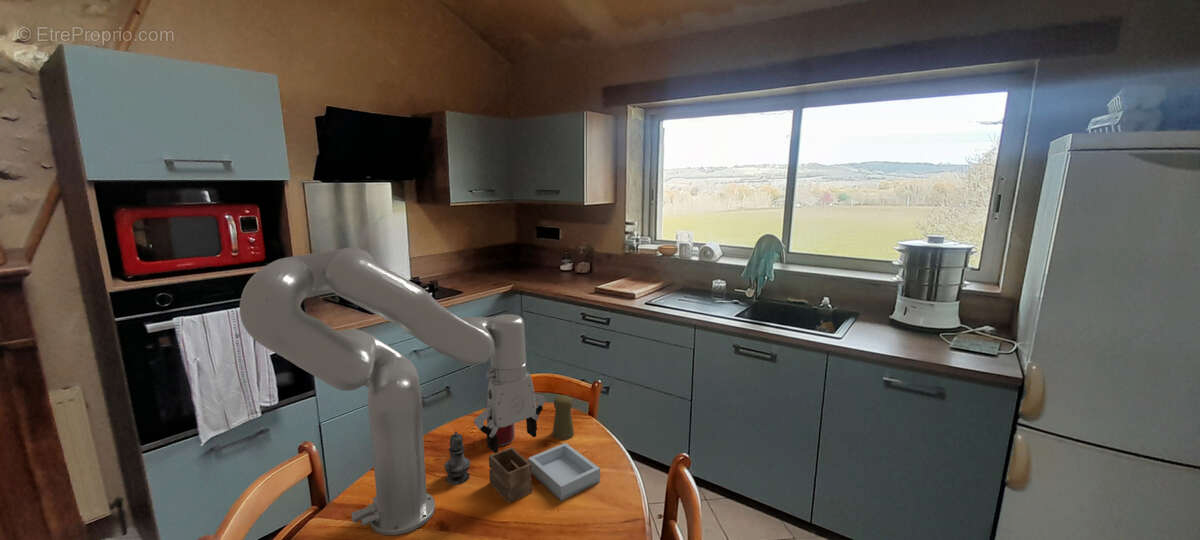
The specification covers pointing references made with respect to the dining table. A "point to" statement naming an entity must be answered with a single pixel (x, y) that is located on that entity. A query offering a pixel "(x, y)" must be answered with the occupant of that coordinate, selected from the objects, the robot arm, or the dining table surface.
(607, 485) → the dining table surface
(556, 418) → the cork
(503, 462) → the walnut crate
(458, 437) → the dark grey chess piece
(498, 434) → the soda can
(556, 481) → the grey crate
